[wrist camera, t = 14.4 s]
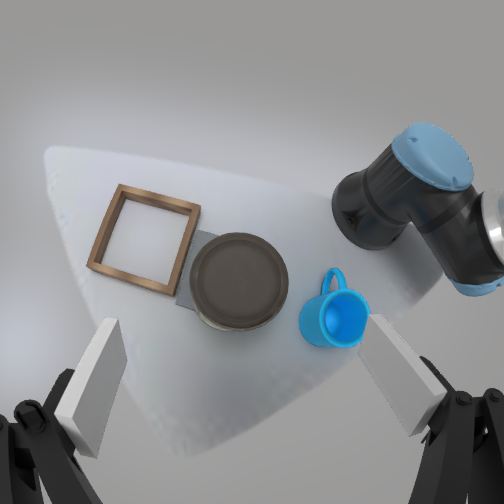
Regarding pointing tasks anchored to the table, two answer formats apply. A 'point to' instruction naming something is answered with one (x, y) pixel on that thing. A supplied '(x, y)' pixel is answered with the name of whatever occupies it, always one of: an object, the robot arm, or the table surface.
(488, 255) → the robot arm
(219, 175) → the table surface
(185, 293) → the mat
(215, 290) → the coffee can
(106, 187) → the table surface
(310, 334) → the mug
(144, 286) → the crate
